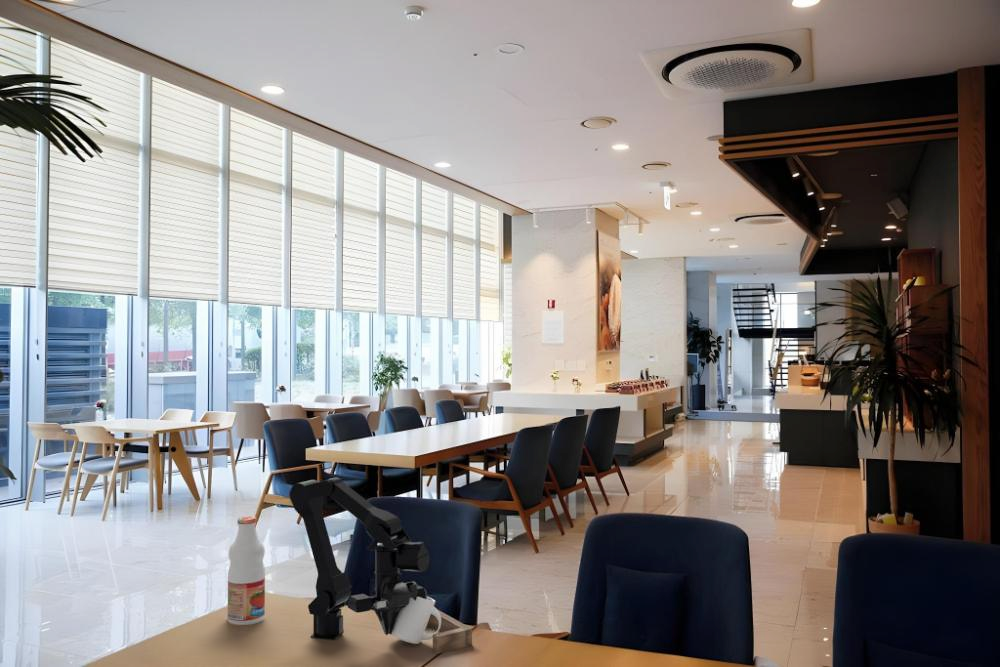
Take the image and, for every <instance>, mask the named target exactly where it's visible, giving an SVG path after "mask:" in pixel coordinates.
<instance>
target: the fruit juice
mask: <svg viewBox="0 0 1000 667" xmlns="http://www.w3.org/2000/svg"><path fill="white" fill-rule="evenodd" d="M257 522H258V519H257V517H256V516H242V517H238V518H237V526H238V530H237V534H236V537H235V540H234V541H233V542H232V544H231V545H230V546H229V549H228V558H229V561H230V565H229V568H228V570H227V571H228V572H227V620H226V621H227V622H228V623H229V624H231V625H236V626H239V625H240V626H241V625H242V626H243V625H244V626H246V625H253V624H257V623H261V622H263V621H264V619H266V618H265V614H266V611H265V608H266V607H265V606H266V605H265V604H266V602H265V601H266V600H265V599H266V594H265V593H266V568H265V565H264V561H263V560H264V557H265V550H266V549H265V545H264V544H263V542H262V541H261V540H260V539H259V535H258V533H257V529H256V525H257Z"/></svg>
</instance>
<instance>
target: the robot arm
mask: <svg viewBox="0 0 1000 667" xmlns="http://www.w3.org/2000/svg"><path fill="white" fill-rule="evenodd" d="M325 496H328V497H330V498H331V499H332V500H334V502H336V503H338V505H339V506H341V507H342V508H343V509H345V510H346V511H347V512H348V513H350V514H351V515H353V516H354V518H356V519H357V520H359V521H360V523H361V524H363V526H364V529H365V532H366V533H367V534H368V536H370V538H372V542H371V543H370V544H369V545H368V546H367V550H369V551H375V553H374V554H375V571H374V572H373V577H374V578H375V588H374V589H373V594H374V595H372V596H368V595H367V594H365V593H361V594H360V593H359V594H354V595H351V594H352V589H351V588H352V587H353V585H352V583H351V581H350V578H349V577H350V576H349V573H348V571H344V572H342V570H340V568H339V567H338V566H337V561H336V558H335V555H334V551H333V548H332V544H331V543H332V542H331V540H330V536H329V533H328V529H327V525H326V523H325V518H324V515H323V514H324V513H323V509H324V504H325ZM288 497H289V500H290V502H291V504H292V506H293V509H294V511H295V512H296V513H297V514H298V515H299V516H300V517H301V518H302V519H303V523H304V526H305V530H306V534H307V538H308V542H309V546H310V548H311V549H310V550H311V553H312V556H313V560H314V563H315V567H316V568H315V569H316V571H317V577H316V582H315V591H316V597H315V598H314V599H313V600H312V601H311V602H310V603H309V604H308V605H307V609H308V612H309V614H310V615H313V620H312V621H313V624H312V625H313V627H312V629H313V631H312V634H311V635H310V638H311V639H319V638H320V639H321V640H331V641H332V640H334V641H335V640H336V639H337V638H338V637H339V636H340V635H342V633H344V631H345V630H344V615H342V608H344V607H345V606H346V603H347V608H348V609H350V610H351V611H353V612H355V613H356V614H358V613H360V614H361V613H366V612H369V611H371V610H372V611H373V612H374V613H375V615H376V616H377V618H378V621H379V623H380V625H381V629H382V630H383V634H385V636H388V635H391V634H392V631H393V627H394V624H395V621H396V618H397V616H398V614H399V612H400V610H401V609H402V608H404V607H406V606H407V605H408V604H409V601H410V598H413V599H414V600H415V601H416V598H417V596H418V597H421V598H424V599H427V597H428V595H427V594H428V592H427V590H426V589H425V587H423V586H420V585H418V583H417V582H416V581H414V580H412V581H408V582H404V581H403V576H402V575H403V574H402V573H401V572H400V571H405V572H406V571H407V572H408V571H409V572H416V573H419V572H420V573H423V572H425V571H427V570H428V566H429V564H430V553H429V551H428V549H427V548H426V547H425V542H424V541H418V542H417V541H416V542H413V541H412V539H411V538H410V536H409V533H407V532H406V530H405V528H404V526H403V525H402V521H401V518H400V517H398V516H397V515H396V514H394V513H391V512H390V511H388V510H384V509H381V508H378V507H376V506H374V505H373V504H372V503H370V502H369V501H368V500H367V499H365V498H364V497H363V496H362V495H360V494H359V493H357V492H356V491H355V490H354V489H352V488H351V487H350V486H349V485H348V484H346V483H345V482H344V480H343V479H342V478H340V477H332V478H328V479H325V480H324V481H320V482H319V481H318V480H316V479H310V480H306V481H301V482H297V483H294V484H293V485H292V486H291V487H290V490H289V495H288ZM393 539H395V540H393Z"/></svg>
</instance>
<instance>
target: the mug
mask: <svg viewBox="0 0 1000 667" xmlns="http://www.w3.org/2000/svg"><path fill="white" fill-rule="evenodd" d="M435 604H436V600H435V599H433V598H432V597H429V596H427V599H424V598H421V597H418V596H417V598H416V601H415V600H414V599H413V598H410V601H409V604H408V605H407V606H406V607H404V608H402V609H401V610H400V612H399V614H398V616H397V618H396V621H395V624H394V627H393V631H392V634H390V635H391V636H392V637H394V638H396V639H398V640H400V641H403V642H406V643H410V644H413V645H418V644H420V643H421V642H422V640H424V641H428V640H431V639H432V640H433V634H437V633H439V629H440V627H441V616H440V613H439V612H438V610H439V609H437V608H436V607H435ZM431 614H432V615H434V616H435V617H436V618H437V619H438V622H439V627H438V630H436V631H435V632H434V633H432V634H431V633H427V631H426V628H427V623H428V621H429V618H430V615H431Z"/></svg>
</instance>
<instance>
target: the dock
mask: <svg viewBox="0 0 1000 667" xmlns="http://www.w3.org/2000/svg"><path fill="white" fill-rule="evenodd" d="M437 610H438V612H439V613H440V616H441V627H440V629H439V631H438V633H437V634H434V633H432V634H433V638H432V652H433V653H435V654H441V653H446V652H449V651H455V650H458V649H462V648H465V647H470V646H473V628H472V627H470V626H468V625H466V624H464V623H462V622H461V621H459V620H457V619H455V618H454V617H452V616H450V615H448V614H446V613H445V612H442V611H441V610H440V609H437ZM427 626H430V627H431V628H433V629H434V630H436V631H437V630H438V627H439V622H438V619H437V618H436V617H435V616H434V615H432V614H431V615H430V618H429V621H428V623H427ZM427 626H426V627H427Z"/></svg>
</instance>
